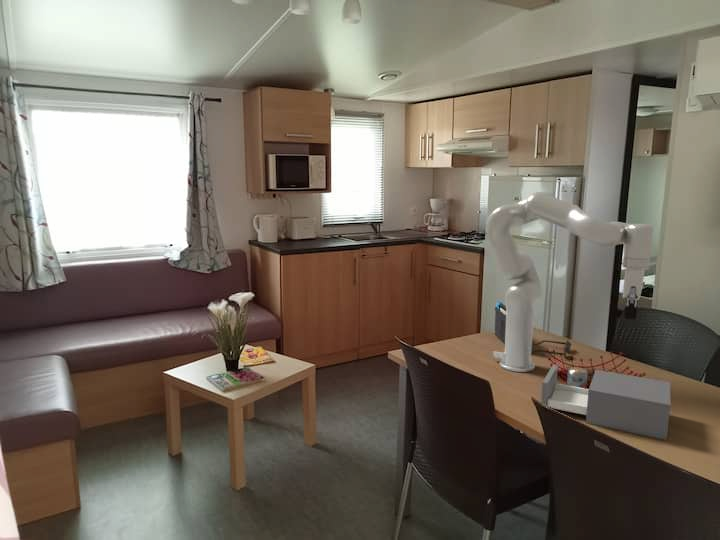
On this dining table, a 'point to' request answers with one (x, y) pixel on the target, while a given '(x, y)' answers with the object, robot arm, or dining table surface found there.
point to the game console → (500, 321)
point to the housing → (629, 403)
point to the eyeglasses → (566, 349)
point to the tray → (563, 394)
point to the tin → (577, 377)
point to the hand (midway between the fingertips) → (630, 315)
